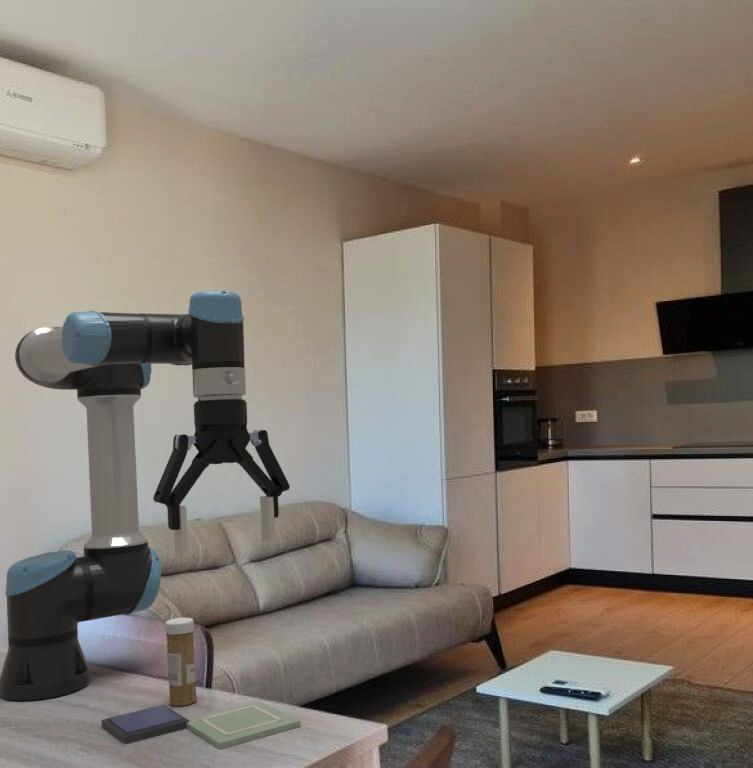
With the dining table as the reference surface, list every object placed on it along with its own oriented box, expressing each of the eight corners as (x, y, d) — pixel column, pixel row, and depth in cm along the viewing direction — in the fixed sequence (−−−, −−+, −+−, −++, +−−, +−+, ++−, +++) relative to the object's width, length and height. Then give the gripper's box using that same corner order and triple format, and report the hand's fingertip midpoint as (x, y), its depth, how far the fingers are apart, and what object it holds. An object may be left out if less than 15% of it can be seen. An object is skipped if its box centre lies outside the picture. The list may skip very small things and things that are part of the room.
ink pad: (101, 726, 134) (101, 717, 134) (164, 711, 140) (163, 702, 140) (124, 744, 126) (123, 735, 126) (189, 727, 131) (189, 718, 132)
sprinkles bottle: (201, 702, 143) (197, 619, 143) (174, 709, 140) (171, 624, 141) (190, 696, 147) (187, 615, 147) (164, 702, 144) (161, 619, 145)
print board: (182, 725, 132) (182, 719, 132) (259, 705, 140) (259, 699, 140) (219, 749, 122) (219, 742, 122) (300, 726, 129) (300, 719, 129)
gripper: (145, 400, 116) (152, 561, 115) (307, 395, 130) (314, 538, 130) (126, 402, 122) (132, 555, 121) (283, 397, 137) (289, 534, 136)
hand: (226, 547), depth 125 cm, fingers open, 13 cm apart
